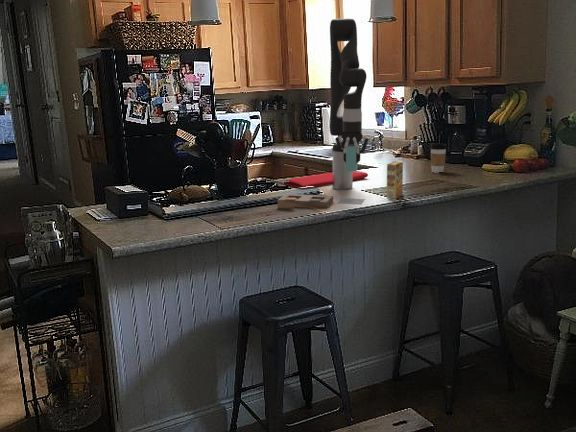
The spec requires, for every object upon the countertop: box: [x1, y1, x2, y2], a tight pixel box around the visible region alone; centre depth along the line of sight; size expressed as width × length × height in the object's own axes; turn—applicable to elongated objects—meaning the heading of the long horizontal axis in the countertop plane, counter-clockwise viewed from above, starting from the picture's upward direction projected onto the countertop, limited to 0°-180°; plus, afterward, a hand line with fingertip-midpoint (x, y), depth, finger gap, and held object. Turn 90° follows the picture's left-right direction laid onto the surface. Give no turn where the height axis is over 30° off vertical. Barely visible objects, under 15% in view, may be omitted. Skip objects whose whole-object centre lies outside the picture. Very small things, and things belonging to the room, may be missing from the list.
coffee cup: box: [430, 142, 448, 174], centre depth 331 cm, size 8×8×15 cm
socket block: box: [277, 193, 334, 210], centre depth 258 cm, size 12×20×4 cm, turn 74°
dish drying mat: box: [283, 170, 369, 188], centre depth 310 cm, size 16×41×4 cm, turn 126°
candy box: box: [386, 161, 404, 199], centre depth 269 cm, size 9×4×15 cm, turn 150°
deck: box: [336, 197, 366, 205], centre depth 262 cm, size 10×10×1 cm
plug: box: [346, 144, 359, 171], centre depth 258 cm, size 4×4×11 cm
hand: (351, 162), depth 258 cm, fingers closed on plug, 4 cm apart
